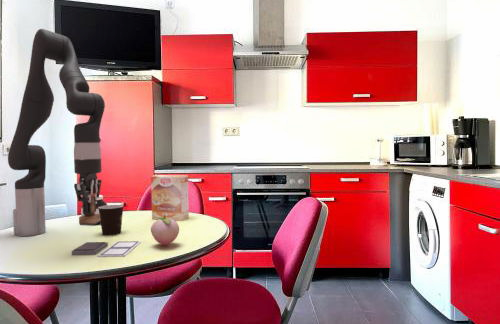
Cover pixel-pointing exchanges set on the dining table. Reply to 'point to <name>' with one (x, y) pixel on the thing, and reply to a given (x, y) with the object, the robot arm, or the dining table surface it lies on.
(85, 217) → the stamp
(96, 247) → the ink pad
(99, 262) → the dining table surface
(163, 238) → the decorative fruit
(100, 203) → the spread jar
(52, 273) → the dining table surface
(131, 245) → the sheet
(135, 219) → the dining table surface
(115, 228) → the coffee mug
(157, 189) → the coffeecake box
